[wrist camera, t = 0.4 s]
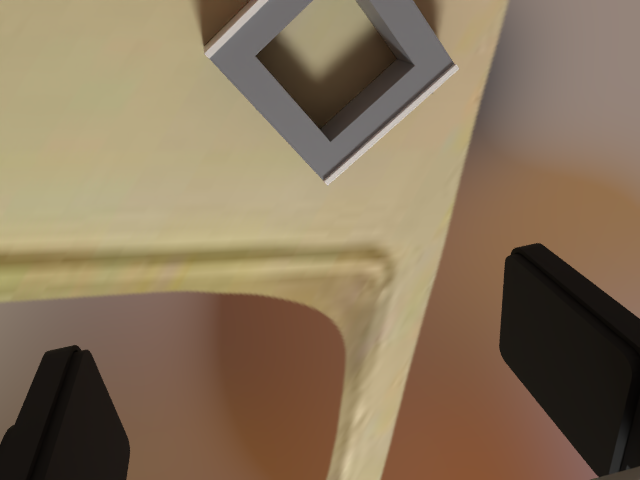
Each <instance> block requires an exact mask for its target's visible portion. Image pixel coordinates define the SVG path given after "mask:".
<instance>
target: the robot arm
mask: <svg viewBox="0 0 640 480" xmlns="http://www.w3.org/2000/svg"><path fill="white" fill-rule="evenodd" d="M499 348H500V352H501V355H502V357H503V359H504V361H505V362H506V364H507V365H508V366H509V367H510V368H511V370H512V371H513V372H514V373H515V375H516V376H517V377H518V378H519V380H520V381H521V382H522V383H523V385H524V386H525V387H526V388H527V389H528V391H529V392H530V393H531V394H532V396H533V397H534V398H535V399H536V401H537V402H538V403H539V404H540V406H541V407H542V408H543V409H544V411H545V412H546V413H547V414H548V416H549V417H550V418H551V419H552V420H553V422H554V423H555V424H556V425H557V427H558V428H559V429H560V430H561V432H562V433H563V434H564V435H565V436H566V438H567V439H568V440H569V441H570V443H571V444H572V445H573V446H574V448H575V449H576V450H577V451H578V453H579V454H580V455H581V456H582V458H583V459H584V460H585V461H586V463H587V464H588V465H589V466H590V467H591V469H592V470H593V471H594V472H595V473H596V475H597V476H599V477H598V478H595V479H591V480H640V319H639V318H638V317H636V316H635V315H634V314H633V313H631V312H630V311H629V310H627V309H626V308H625V307H623V306H622V305H621V304H620V303H618V302H617V301H615V300H614V299H613V298H612V297H610V296H609V295H608V294H606V293H605V292H604V291H602V290H601V289H600V288H598V287H597V286H596V285H594V284H593V283H592V282H591V281H589V280H588V279H587V278H585V277H584V276H583V275H581V274H580V273H579V272H577V271H576V270H575V269H574V268H572V267H571V266H570V265H568V264H567V263H566V262H564V261H563V260H562V259H561V258H559V257H558V256H557V255H555V254H554V253H553V252H551V251H550V250H549V249H547V248H546V247H545V246H543V245H542V244H539V243H536V244H531V245H526V246H522V247H517V248H515V249H513V250H512V252H511V255H510V256H508V257H507V258H506V260H505V270H504V285H503V300H502V314H501V329H500V344H499ZM129 457H130V446H129V441H128V438H127V435H126V433H125V430H124V428H123V426H122V423H121V421H120V419H119V416H118V414H117V412H116V410H115V407H114V405H113V403H112V400H111V398H110V396H109V393H108V391H107V389H106V386H105V384H104V382H103V380H102V377H101V375H100V373H99V370H98V368H97V366H96V363H95V361H94V359H93V357H92V354H91V353H90V351H88V350H83V351H81V349H80V348H79V347H78V346H77V345H73V346H69V347H64V348H59V349H55V350H50V351H47V352H45V354H44V356H43V358H42V360H41V363H40V365H39V368H38V370H37V372H36V375H35V377H34V379H33V382H32V384H31V387H30V389H29V392H28V394H27V396H26V399H25V401H24V403H23V406H22V408H21V411H20V413H19V415H18V418H17V420H16V423H15V425H13V426H11V427H10V428H9V429H8V430H7V432H6V433H5V435H4V437H3V439H2V442H1V444H0V480H126V477H127V470H128V464H129Z"/></svg>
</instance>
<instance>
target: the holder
mask: <svg viewBox="0 0 640 480" xmlns="http://www.w3.org/2000/svg"><path fill="white" fill-rule="evenodd" d="M312 1H313V0H250V1H249V2H248V3H247V4H246V5H245V6H244V7H243V8H242V9H241V10H240V11H239V12H238V13H237V14H236V15H235V16H234V17H233V18H232V19H231V20H230V21H229V22H228V23H227V24H226V25H225V26H224V27H223V28H222V29H221V30H220V31H219V32H218V33H217V34H216V35H215V36H214V37H213V38H212V39H211V40H210V41H209V42H208V43H207V44H206V45H205V46H204V54H205V55H206V56H207V57H208V58H209V59H210V60H211V61H212V62H213V63H214V64H215V65H216V66H217V67H218V68H219V69H220V71H221V72H222V73H223V74H224V75H225V76H226V77H227V78H228V79H229V80H230V81H231V82H232V83H233V84H234V86H235V87H236V88H237V89H238V90H239V91H240V92H241V93H242V94H243V95H244V96H245V97H246V98H247V99H248V101H249V102H250V103H251V104H252V105H253V106H254V107H255V108H256V109H257V110H258V111H259V112H260V113H261V114H262V116H263V117H264V118H265V119H266V120H267V121H268V122H269V123H270V124H271V125H272V126H273V127H274V128H275V129H276V130H277V132H278V133H279V134H280V135H281V136H282V137H283V138H284V139H285V140H286V141H287V142H288V143H289V144H290V145H291V147H292V148H293V149H294V150H295V151H296V152H297V153H298V154H299V155H300V156H301V157H302V158H303V159H304V160H305V162H306V163H307V164H308V165H309V166H310V167H311V168H312V169H313V170H314V171H315V172H316V173H317V174H318V175H319V176H320V178H321V179H322V180H323V181H324V182H325V183H326V184H327V186H328V185H329V184H330V183H331V182H332V181H333V180H335V179H336V178H337V177H338V176H339V175H340V174H341V173H342V172H344V171H345V170H346V169H347V168H348V167H349V166H350V165H351V164H353V163H354V162H355V161H356V160H357V159H358V158H359V157H360V156H362V155H363V154H364V153H365V152H366V151H367V150H368V149H369V148H371V147H372V146H373V145H374V144H375V143H376V142H377V141H378V140H380V139H381V138H382V137H383V136H384V135H385V134H386V133H388V132H389V131H390V130H391V129H392V128H393V127H394V126H395V125H397V124H398V123H399V122H400V121H401V120H402V119H403V118H404V117H406V116H407V115H408V114H409V113H410V112H411V111H412V110H413V109H415V108H416V107H417V106H418V105H419V104H420V103H421V102H422V101H424V100H425V99H426V98H427V97H428V96H429V95H430V94H431V93H433V92H434V91H435V90H436V89H437V88H438V87H439V86H440V85H442V84H443V83H444V82H445V81H446V80H447V79H448V78H449V77H451V76H452V75H453V74H454V73H455V72H456V71H457V70H459V68H458V66H457V65H456V64H454V63H453V61H452V59H451V58H450V56H449V55H448V53H447V52H446V50H445V49H444V47H443V46H442V44H441V43H440V41H439V39H438V38H437V36H436V35H435V33H434V32H433V30H432V29H431V27H430V26H429V24H428V22H427V21H426V19H425V18H424V16H423V15H422V13H421V12H420V10H419V9H418V7H417V5H416V4H415V2H414V1H413V0H356V2H357V3H358V4H359V6H360V7H361V9H362V10H363V11H364V13H365V14H366V16H367V17H368V18H369V20H370V21H371V23H372V24H373V26H374V27H375V28H376V30H377V31H378V33H379V34H380V35H381V37H382V38H383V40H384V41H385V42H386V44H387V45H388V47H389V48H390V49H391V51H392V52H393V54H394V55H395V56H396V58H397V60H395V61H394V62H393V63H392V64H391V65H390V66H389V67H388V68H387V69H386V70H384V71H383V72H382V73H381V74H380V75H379V76H378V77H377V78H376V79H375V80H374V81H372V82H371V83H370V84H369V85H368V86H367V87H366V88H365V89H364V90H363V91H361V92H360V93H359V94H358V95H357V96H356V97H355V98H354V99H353V100H352V101H351V102H349V103H348V104H347V105H346V106H345V107H344V108H343V109H342V110H341V111H340V112H338V113H337V114H336V115H335V116H334V117H333V118H332V119H331V120H330V121H329V122H328V123H326V124H325V125H324V126H323V127H322V128H321V129H319V128H318V126H317V125H316V124H315V123H314V122H313V121H312V120H311V118H310V117H309V116H308V115H307V114H306V113H305V112H304V110H303V109H302V108H301V107H300V106H299V105H298V104H297V102H296V101H295V100H294V99H293V98H292V97H291V96H290V94H289V93H288V92H287V91H286V90H285V89H284V88H283V86H282V85H281V84H280V83H279V82H278V81H277V80H276V79H275V77H274V76H273V75H272V74H271V73H270V72H269V71H268V69H267V68H266V67H265V66H264V65H263V64H262V63H261V61H260V60H259V59H258V58H257V57H256V55H257V54H258V53H259V52H260V51H261V50H262V49H263V48H264V47H265V46H266V45H267V44H268V43H269V42H270V41H271V40H272V39H273V38H274V37H275V36H276V35H277V34H279V33H280V32H281V31H282V30H283V29H284V28H285V27H286V26H287V25H288V24H289V23H290V22H291V21H292V20H293V19H294V18H295V17H296V16H297V15H298V14H299V13H300V12H301V11H302V10H303V9H304V8H305V7H306V6H307V5H308V4H310V3H311V2H312Z"/></svg>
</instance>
